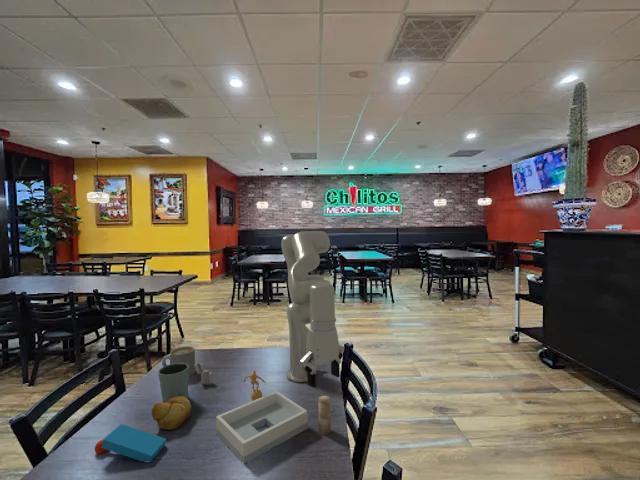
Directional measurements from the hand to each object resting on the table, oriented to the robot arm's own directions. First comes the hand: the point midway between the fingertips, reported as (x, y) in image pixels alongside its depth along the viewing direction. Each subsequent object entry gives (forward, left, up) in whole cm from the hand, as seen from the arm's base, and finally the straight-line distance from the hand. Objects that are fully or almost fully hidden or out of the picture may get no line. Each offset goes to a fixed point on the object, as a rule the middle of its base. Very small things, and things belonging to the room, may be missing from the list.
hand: (324, 380), depth 96 cm
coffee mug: (+19, -74, -16) cm, 78 cm away
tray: (+14, -13, -16) cm, 25 cm away
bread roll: (+32, -38, -16) cm, 52 cm away
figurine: (+7, -29, -16) cm, 34 cm away
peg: (0, 0, -16) cm, 16 cm away
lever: (+46, -32, -16) cm, 59 cm away
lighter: (+15, -57, -16) cm, 61 cm away
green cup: (+28, -51, -16) cm, 61 cm away
